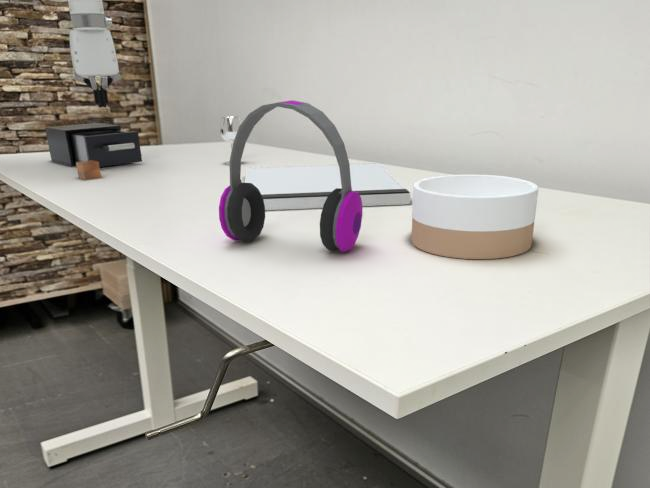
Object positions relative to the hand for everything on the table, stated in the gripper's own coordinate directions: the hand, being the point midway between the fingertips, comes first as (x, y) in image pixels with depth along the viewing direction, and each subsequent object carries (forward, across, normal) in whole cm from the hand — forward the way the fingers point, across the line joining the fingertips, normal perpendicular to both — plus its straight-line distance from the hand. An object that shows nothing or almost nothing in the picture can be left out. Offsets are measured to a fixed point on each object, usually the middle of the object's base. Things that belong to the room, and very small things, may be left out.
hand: (102, 106), depth 149 cm
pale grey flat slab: (+16, -36, +50) cm, 63 cm away
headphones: (+16, -15, +86) cm, 88 cm away
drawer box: (+16, +4, -24) cm, 29 cm away
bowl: (+16, -38, +97) cm, 106 cm away
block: (+16, +6, +7) cm, 19 cm away
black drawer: (+15, -1, -10) cm, 18 cm away
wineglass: (+16, -31, +5) cm, 35 cm away
